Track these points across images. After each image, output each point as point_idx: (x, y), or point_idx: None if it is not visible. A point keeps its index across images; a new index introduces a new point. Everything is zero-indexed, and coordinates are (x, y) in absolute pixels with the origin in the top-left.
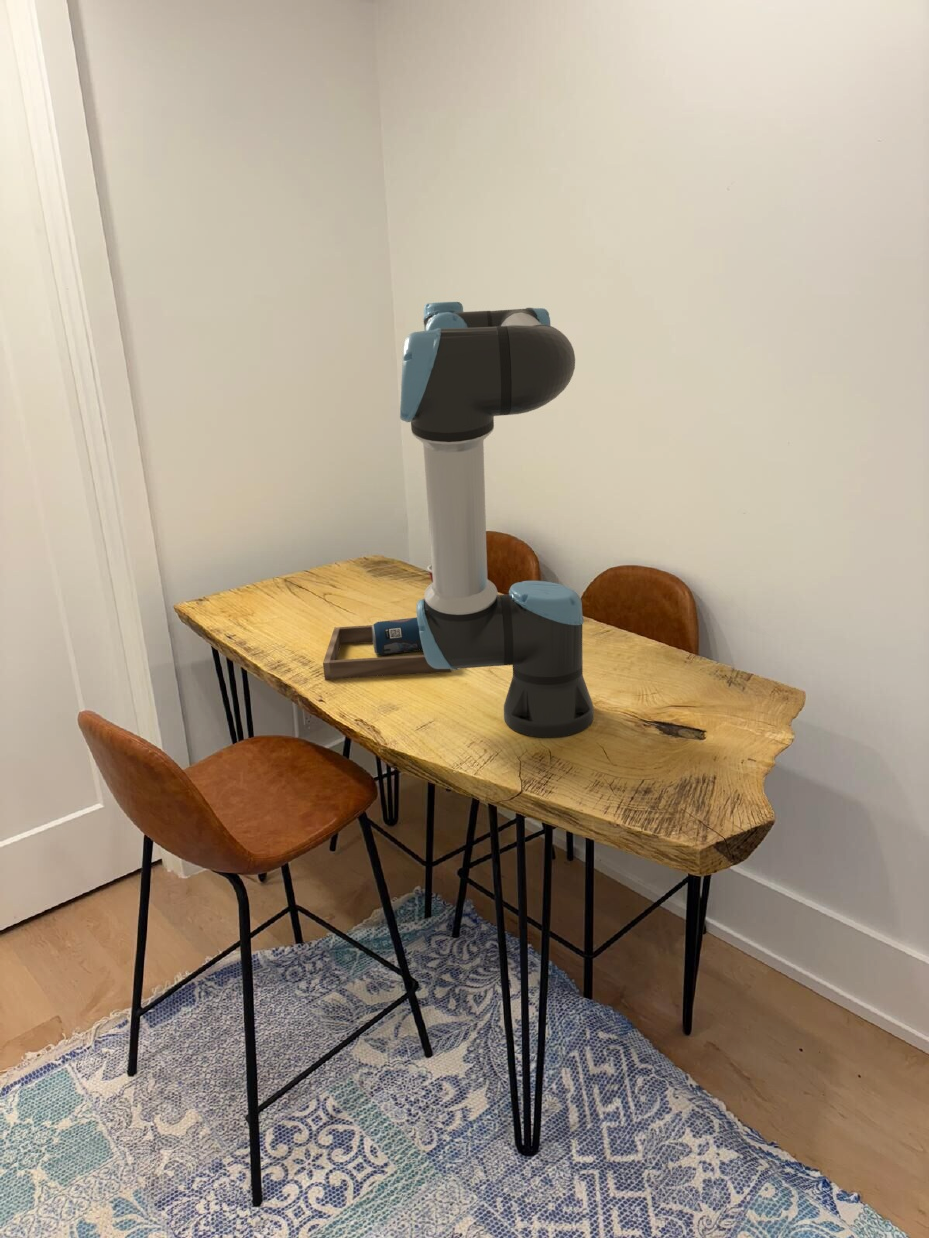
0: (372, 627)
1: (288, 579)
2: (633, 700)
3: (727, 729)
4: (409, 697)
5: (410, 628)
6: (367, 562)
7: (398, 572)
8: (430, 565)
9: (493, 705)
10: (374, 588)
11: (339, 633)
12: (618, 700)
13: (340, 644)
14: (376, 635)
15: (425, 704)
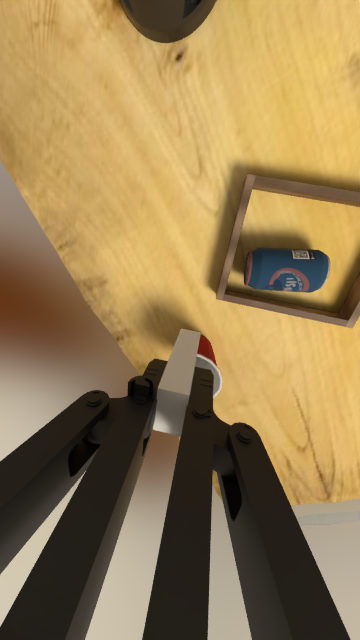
0: (329, 271)
1: (325, 496)
2: (60, 3)
3: None
4: (321, 102)
5: (279, 255)
6: None
7: None
8: (214, 395)
9: (226, 35)
10: None
11: (348, 315)
12: (77, 9)
13: (341, 309)
14: (326, 256)
15: (309, 67)
